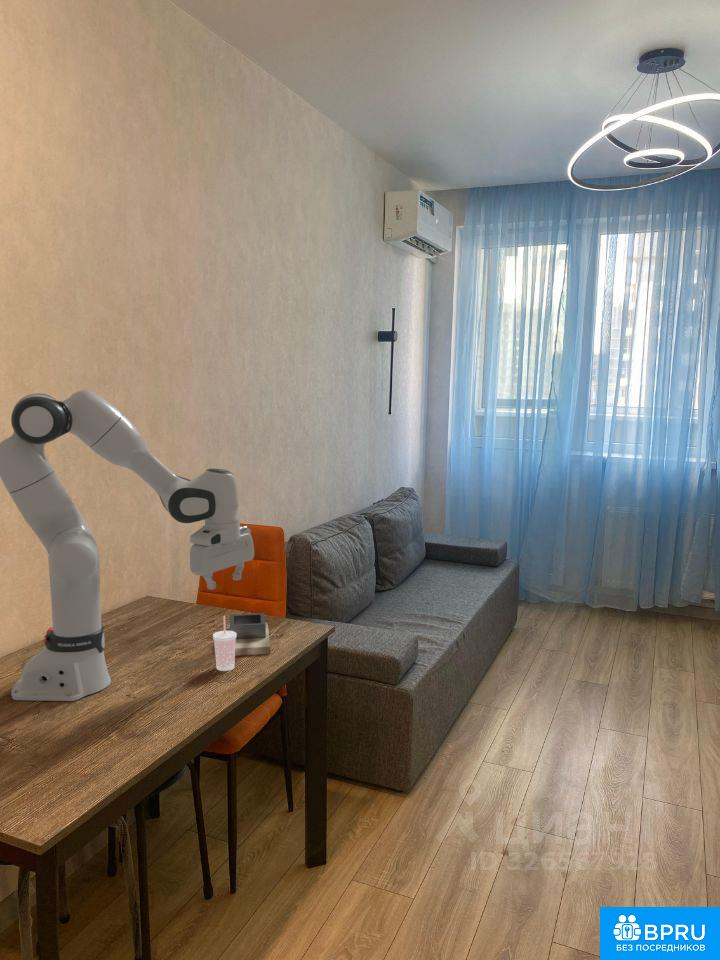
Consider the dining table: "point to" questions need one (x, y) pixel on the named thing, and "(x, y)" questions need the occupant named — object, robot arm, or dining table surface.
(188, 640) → the dining table surface
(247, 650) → the socket board
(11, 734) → the dining table surface
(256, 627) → the cup collar
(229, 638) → the beverage cup
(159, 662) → the dining table surface
